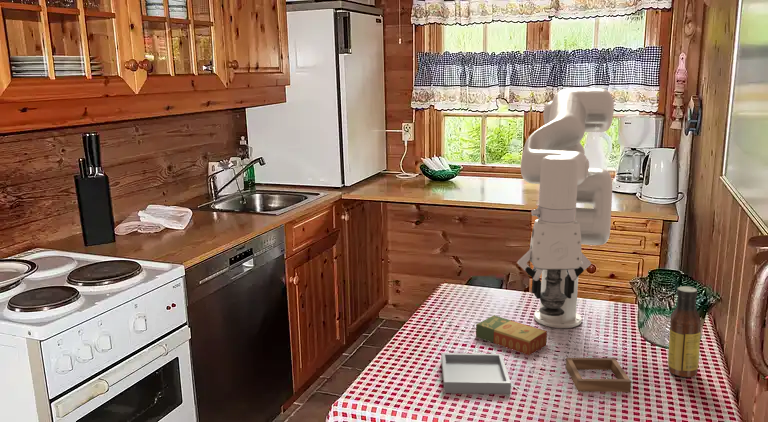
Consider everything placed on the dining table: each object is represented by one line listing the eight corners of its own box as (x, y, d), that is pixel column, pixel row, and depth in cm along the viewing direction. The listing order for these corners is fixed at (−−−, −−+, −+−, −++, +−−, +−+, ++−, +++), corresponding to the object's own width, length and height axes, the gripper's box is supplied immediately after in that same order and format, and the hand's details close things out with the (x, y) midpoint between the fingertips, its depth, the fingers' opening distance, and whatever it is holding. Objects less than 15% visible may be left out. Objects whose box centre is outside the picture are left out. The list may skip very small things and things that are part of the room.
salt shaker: (547, 318, 131) (550, 263, 129) (532, 308, 137) (535, 255, 134) (571, 314, 133) (574, 260, 131) (555, 305, 139) (558, 253, 136)
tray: (441, 362, 147) (441, 353, 146) (501, 363, 146) (501, 353, 145) (444, 392, 133) (444, 382, 132) (510, 393, 132) (510, 383, 132)
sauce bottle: (698, 370, 142) (707, 287, 138) (696, 381, 137) (705, 295, 133) (667, 363, 145) (675, 282, 141) (663, 374, 140) (671, 290, 136)
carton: (529, 357, 150) (529, 340, 149) (474, 338, 161) (475, 322, 160) (547, 346, 156) (547, 330, 155) (493, 328, 167) (493, 313, 166)
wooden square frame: (565, 367, 144) (566, 357, 143) (614, 368, 143) (614, 358, 143) (578, 391, 133) (578, 380, 132) (630, 392, 133) (631, 381, 132)
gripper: (519, 219, 127) (515, 302, 131) (604, 218, 127) (598, 302, 131) (512, 211, 134) (509, 290, 138) (592, 210, 134) (587, 290, 138)
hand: (552, 295), depth 134 cm, fingers closed on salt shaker, 5 cm apart
